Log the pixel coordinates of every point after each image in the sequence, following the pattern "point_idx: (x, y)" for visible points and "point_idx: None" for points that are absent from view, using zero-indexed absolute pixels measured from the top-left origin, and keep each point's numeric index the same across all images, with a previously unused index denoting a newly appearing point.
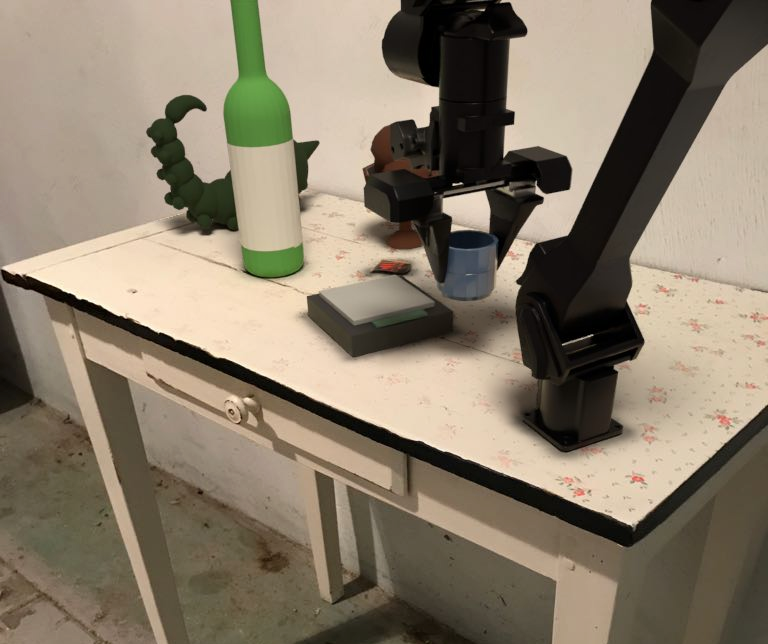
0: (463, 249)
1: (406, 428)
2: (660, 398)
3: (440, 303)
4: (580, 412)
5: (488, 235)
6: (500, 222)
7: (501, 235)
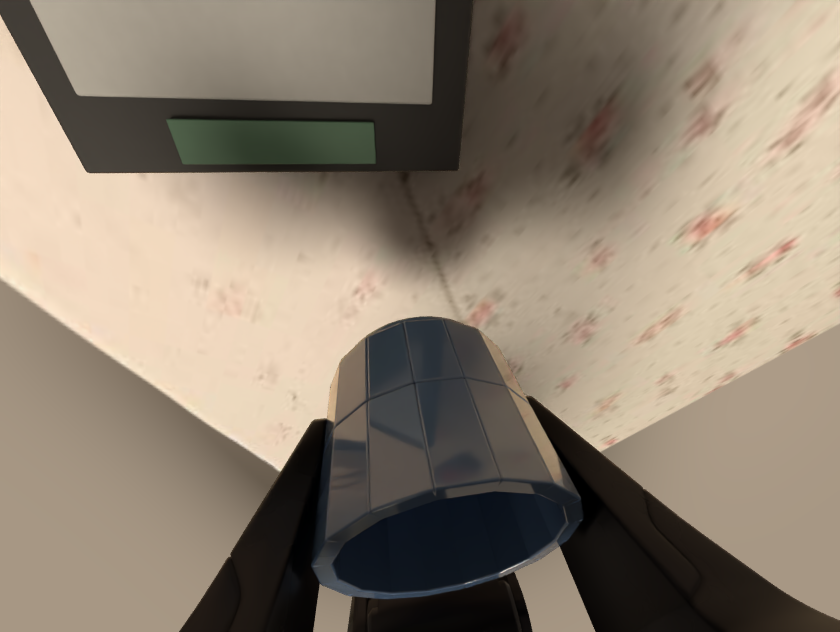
0: (378, 596)
1: (221, 418)
2: None
3: (459, 86)
4: None
5: (559, 526)
6: (619, 605)
7: (578, 551)
